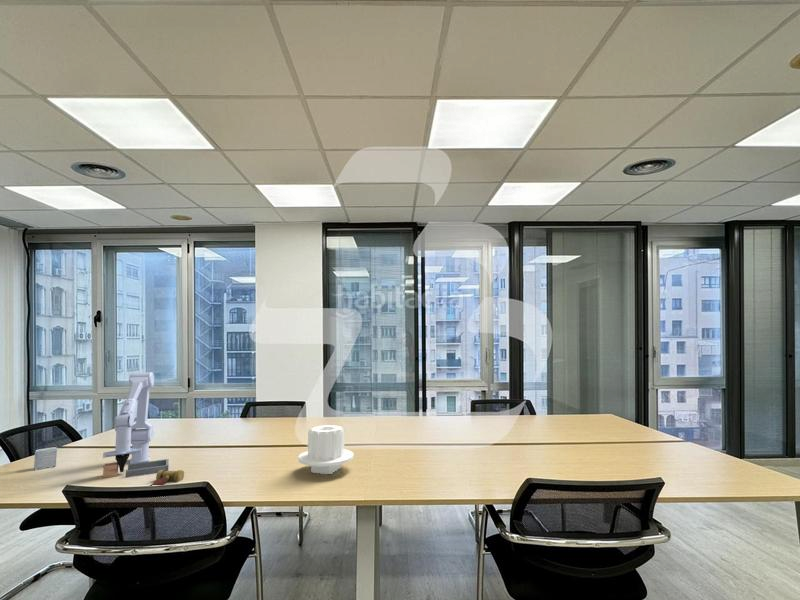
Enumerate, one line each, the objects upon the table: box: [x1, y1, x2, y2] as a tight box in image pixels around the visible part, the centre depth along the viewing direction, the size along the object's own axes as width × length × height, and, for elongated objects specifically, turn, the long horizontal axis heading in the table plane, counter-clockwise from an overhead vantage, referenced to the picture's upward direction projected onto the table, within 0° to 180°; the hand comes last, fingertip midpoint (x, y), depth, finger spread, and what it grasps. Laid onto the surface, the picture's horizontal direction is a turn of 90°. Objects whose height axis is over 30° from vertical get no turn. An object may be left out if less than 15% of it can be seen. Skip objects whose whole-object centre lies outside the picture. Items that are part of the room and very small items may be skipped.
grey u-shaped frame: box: [125, 458, 170, 478], centre depth 195 cm, size 12×16×2 cm
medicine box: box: [33, 446, 58, 470], centre depth 200 cm, size 8×4×9 cm, turn 134°
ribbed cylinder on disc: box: [297, 424, 354, 475], centre depth 193 cm, size 25×25×19 cm
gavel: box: [149, 469, 185, 486], centre depth 173 cm, size 21×5×10 cm
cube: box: [102, 461, 119, 479], centre depth 188 cm, size 5×5×5 cm
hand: (121, 471), depth 190 cm, fingers closed
